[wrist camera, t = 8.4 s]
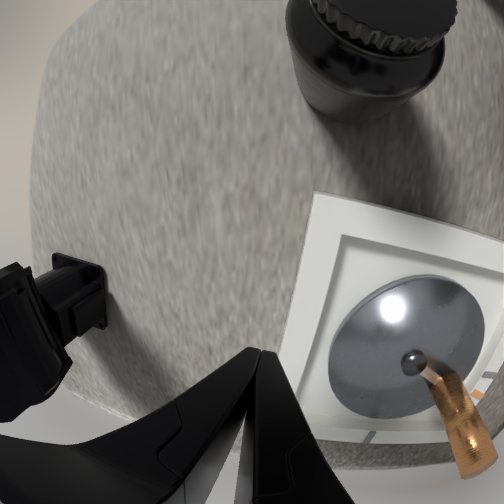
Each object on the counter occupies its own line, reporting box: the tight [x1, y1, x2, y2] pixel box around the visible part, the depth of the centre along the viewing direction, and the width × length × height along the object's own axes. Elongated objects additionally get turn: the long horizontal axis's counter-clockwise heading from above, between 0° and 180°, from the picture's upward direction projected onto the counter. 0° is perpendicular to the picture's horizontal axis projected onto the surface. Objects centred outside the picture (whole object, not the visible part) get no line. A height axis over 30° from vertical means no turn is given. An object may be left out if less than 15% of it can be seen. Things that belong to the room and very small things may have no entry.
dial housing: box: [278, 190, 504, 444], centre depth 19 cm, size 20×20×3 cm
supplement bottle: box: [285, 0, 458, 124], centre depth 10 cm, size 7×7×12 cm
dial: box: [328, 274, 498, 479], centre depth 15 cm, size 13×13×10 cm
